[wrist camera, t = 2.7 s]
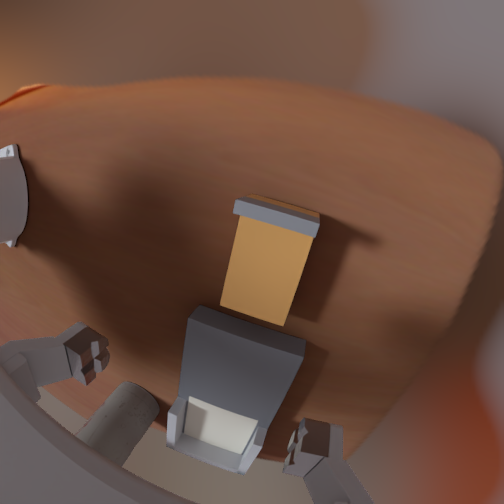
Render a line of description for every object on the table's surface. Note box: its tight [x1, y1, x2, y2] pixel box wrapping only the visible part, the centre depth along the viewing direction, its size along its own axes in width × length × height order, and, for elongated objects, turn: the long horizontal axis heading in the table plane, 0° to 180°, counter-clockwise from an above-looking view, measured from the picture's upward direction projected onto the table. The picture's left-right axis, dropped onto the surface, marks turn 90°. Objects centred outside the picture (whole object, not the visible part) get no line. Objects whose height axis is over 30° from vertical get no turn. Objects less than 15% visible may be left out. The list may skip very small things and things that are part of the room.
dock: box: [167, 305, 306, 475], centre depth 30 cm, size 12×23×6 cm, turn 166°
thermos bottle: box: [75, 382, 159, 467], centre depth 25 cm, size 8×8×28 cm
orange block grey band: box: [220, 194, 320, 326], centre depth 23 cm, size 6×10×6 cm, turn 166°
